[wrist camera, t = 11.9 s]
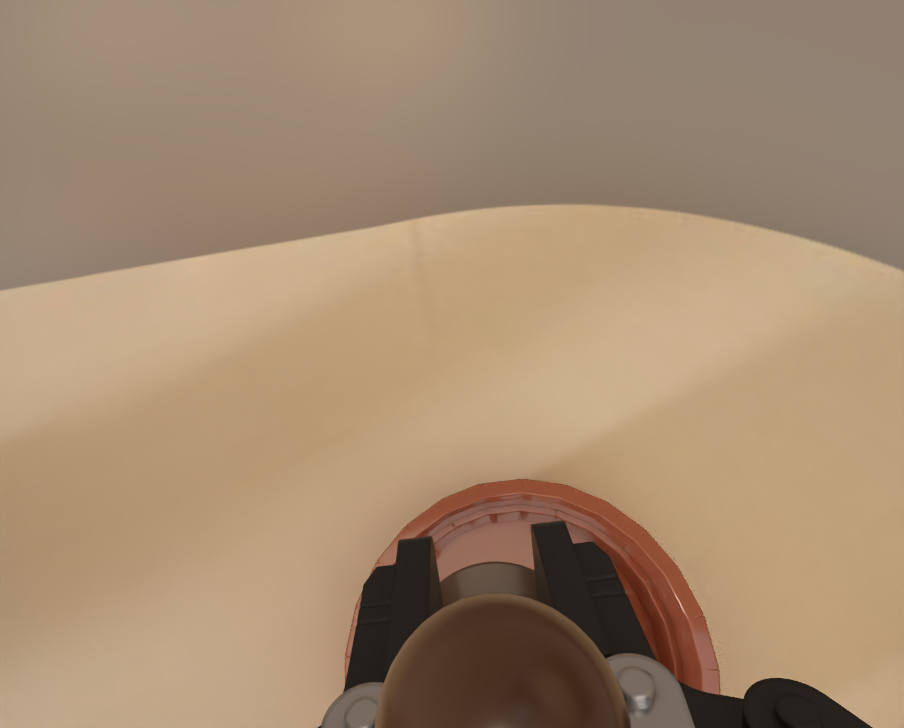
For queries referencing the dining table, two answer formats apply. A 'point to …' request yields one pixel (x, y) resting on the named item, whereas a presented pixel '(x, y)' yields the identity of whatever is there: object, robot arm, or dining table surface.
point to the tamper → (499, 662)
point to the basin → (588, 519)
